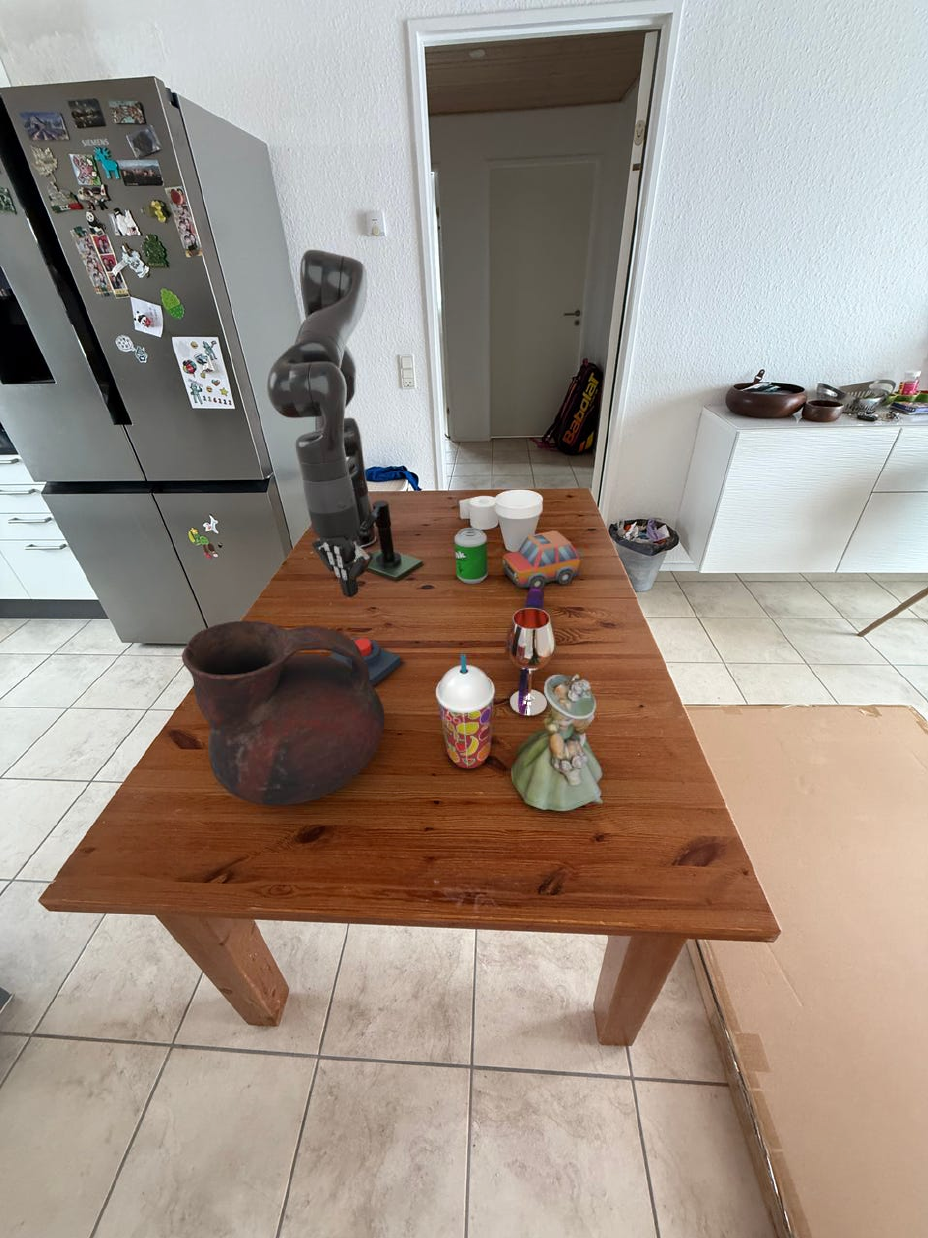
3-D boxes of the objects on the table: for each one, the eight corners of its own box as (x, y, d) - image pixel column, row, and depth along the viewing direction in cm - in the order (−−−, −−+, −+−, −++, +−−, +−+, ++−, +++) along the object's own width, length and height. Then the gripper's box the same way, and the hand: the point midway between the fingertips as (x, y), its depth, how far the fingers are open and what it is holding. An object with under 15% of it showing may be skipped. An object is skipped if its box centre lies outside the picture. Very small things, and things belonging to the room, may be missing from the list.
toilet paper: (460, 518, 154) (459, 496, 150) (498, 517, 153) (497, 495, 149) (459, 530, 147) (458, 507, 143) (498, 529, 147) (498, 506, 143)
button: (349, 653, 98) (347, 646, 97) (362, 643, 100) (361, 636, 99) (362, 659, 96) (360, 652, 95) (375, 649, 98) (374, 642, 97)
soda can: (488, 570, 127) (487, 526, 121) (486, 586, 121) (485, 540, 114) (458, 570, 128) (456, 526, 121) (455, 585, 122) (452, 540, 115)
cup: (548, 542, 139) (551, 493, 131) (528, 561, 130) (529, 511, 122) (508, 533, 144) (508, 486, 136) (486, 551, 136) (485, 502, 128)
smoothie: (441, 736, 83) (431, 639, 72) (492, 731, 84) (489, 634, 72) (444, 778, 77) (433, 679, 65) (499, 773, 77) (498, 673, 65)
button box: (328, 664, 100) (325, 650, 98) (358, 643, 105) (355, 629, 103) (372, 686, 94) (369, 672, 92) (401, 663, 99) (399, 649, 97)
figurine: (571, 852, 66) (585, 749, 55) (486, 794, 74) (482, 693, 62) (622, 779, 75) (643, 677, 63) (542, 734, 83) (547, 636, 71)
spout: (378, 521, 127) (375, 500, 124) (393, 522, 127) (390, 500, 123) (358, 549, 115) (353, 526, 112) (374, 550, 115) (370, 526, 112)
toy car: (499, 573, 126) (499, 536, 120) (560, 559, 130) (562, 523, 124) (518, 596, 117) (519, 557, 111) (583, 580, 121) (587, 542, 115)
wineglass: (556, 691, 91) (562, 607, 80) (547, 724, 84) (552, 638, 74) (511, 683, 93) (512, 600, 83) (499, 714, 87) (498, 629, 77)
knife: (527, 602, 115) (527, 583, 112) (543, 603, 114) (544, 584, 111) (507, 720, 85) (507, 697, 82) (529, 722, 84) (530, 700, 81)
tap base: (356, 566, 132) (349, 527, 126) (383, 551, 139) (377, 513, 132) (396, 581, 125) (391, 540, 119) (422, 564, 132) (418, 525, 125)
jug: (394, 817, 72) (367, 684, 57) (209, 849, 69) (131, 719, 55) (387, 695, 92) (365, 576, 78) (243, 717, 89) (193, 597, 75)
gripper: (378, 501, 80) (392, 595, 90) (321, 487, 86) (340, 575, 96) (342, 518, 75) (362, 615, 85) (285, 502, 82) (309, 593, 91)
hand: (350, 594), depth 91 cm, fingers closed
